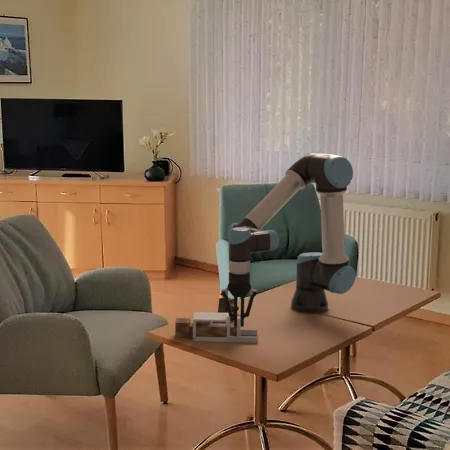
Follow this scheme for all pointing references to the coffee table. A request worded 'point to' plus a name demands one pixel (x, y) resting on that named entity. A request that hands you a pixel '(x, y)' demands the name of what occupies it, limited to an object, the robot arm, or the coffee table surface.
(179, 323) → the block
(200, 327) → the rod
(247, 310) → the robot arm
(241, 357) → the coffee table surface
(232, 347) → the coffee table surface
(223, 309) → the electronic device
